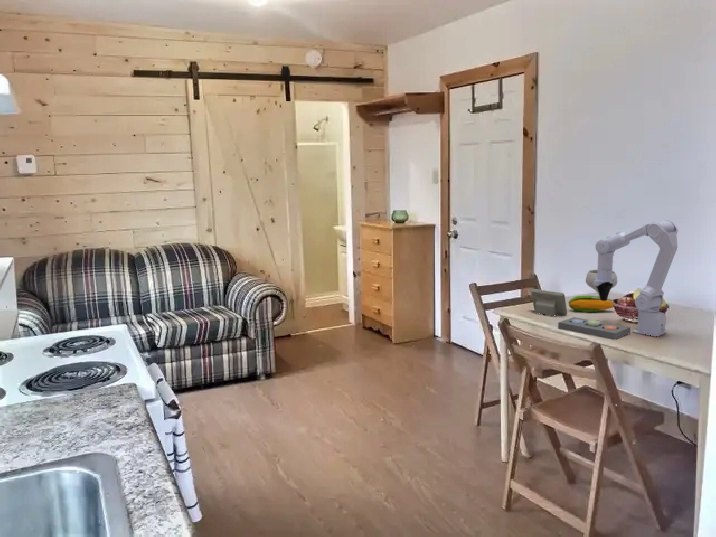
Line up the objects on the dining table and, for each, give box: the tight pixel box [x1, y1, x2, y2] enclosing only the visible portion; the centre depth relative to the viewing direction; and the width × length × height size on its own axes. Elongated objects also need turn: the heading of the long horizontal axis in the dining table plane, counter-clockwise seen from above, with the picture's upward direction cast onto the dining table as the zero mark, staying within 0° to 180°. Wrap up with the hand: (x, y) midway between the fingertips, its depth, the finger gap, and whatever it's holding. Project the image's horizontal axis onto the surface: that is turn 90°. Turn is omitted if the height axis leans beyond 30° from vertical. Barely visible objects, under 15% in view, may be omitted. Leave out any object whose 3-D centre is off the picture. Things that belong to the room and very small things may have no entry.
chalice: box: [585, 269, 618, 302], centre depth 295 cm, size 14×14×15 cm
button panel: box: [557, 316, 631, 340], centre depth 247 cm, size 24×12×2 cm, turn 41°
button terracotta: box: [604, 325, 617, 330], centre depth 242 cm, size 4×4×2 cm
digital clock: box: [530, 288, 568, 317], centre depth 277 cm, size 16×9×11 cm, turn 33°
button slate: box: [572, 319, 583, 324], centre depth 253 cm, size 4×4×2 cm
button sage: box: [587, 319, 601, 327], centre depth 247 cm, size 4×4×2 cm
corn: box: [568, 295, 614, 313], centre depth 279 cm, size 7×8×20 cm
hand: (603, 300), depth 259 cm, fingers closed
